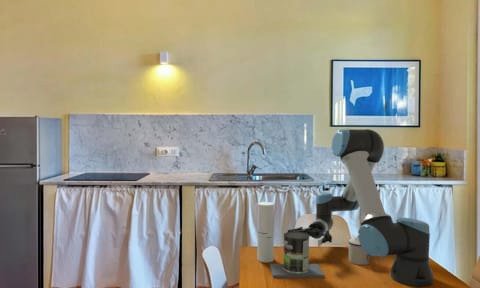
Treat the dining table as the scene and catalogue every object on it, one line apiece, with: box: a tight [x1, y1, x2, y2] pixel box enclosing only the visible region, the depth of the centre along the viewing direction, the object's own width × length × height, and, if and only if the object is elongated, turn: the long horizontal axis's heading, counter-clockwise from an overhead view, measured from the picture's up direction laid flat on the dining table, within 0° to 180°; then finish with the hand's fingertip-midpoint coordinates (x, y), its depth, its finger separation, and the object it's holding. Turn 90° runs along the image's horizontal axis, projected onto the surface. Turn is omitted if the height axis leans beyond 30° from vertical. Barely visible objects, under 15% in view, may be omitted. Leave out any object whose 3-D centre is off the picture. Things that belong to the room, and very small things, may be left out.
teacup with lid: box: [348, 234, 370, 266], centre depth 163 cm, size 12×9×12 cm
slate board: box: [269, 263, 325, 279], centre depth 150 cm, size 20×12×1 cm, turn 91°
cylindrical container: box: [256, 201, 275, 263], centre depth 164 cm, size 7×7×25 cm
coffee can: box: [283, 231, 310, 274], centre depth 150 cm, size 10×10×14 cm
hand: (303, 240), depth 157 cm, fingers open, 13 cm apart
